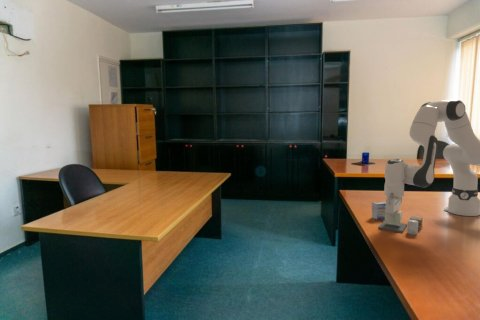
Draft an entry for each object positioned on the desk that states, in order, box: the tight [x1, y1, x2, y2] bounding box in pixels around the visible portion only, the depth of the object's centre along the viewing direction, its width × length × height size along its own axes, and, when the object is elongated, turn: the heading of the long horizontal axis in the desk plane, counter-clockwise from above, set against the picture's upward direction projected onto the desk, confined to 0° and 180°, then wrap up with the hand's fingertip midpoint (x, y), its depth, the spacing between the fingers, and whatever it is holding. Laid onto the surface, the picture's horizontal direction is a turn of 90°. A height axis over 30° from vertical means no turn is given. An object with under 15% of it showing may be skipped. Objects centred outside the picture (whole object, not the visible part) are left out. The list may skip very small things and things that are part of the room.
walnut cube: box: [409, 215, 423, 231], centre depth 163 cm, size 5×5×5 cm
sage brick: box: [384, 210, 403, 225], centre depth 164 cm, size 4×7×6 cm, turn 54°
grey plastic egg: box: [406, 219, 419, 236], centre depth 155 cm, size 4×4×6 cm
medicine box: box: [371, 201, 386, 221], centre depth 179 cm, size 8×4×9 cm, turn 105°
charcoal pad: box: [378, 220, 408, 234], centre depth 164 cm, size 12×11×1 cm
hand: (393, 218), depth 164 cm, fingers closed on sage brick, 4 cm apart
